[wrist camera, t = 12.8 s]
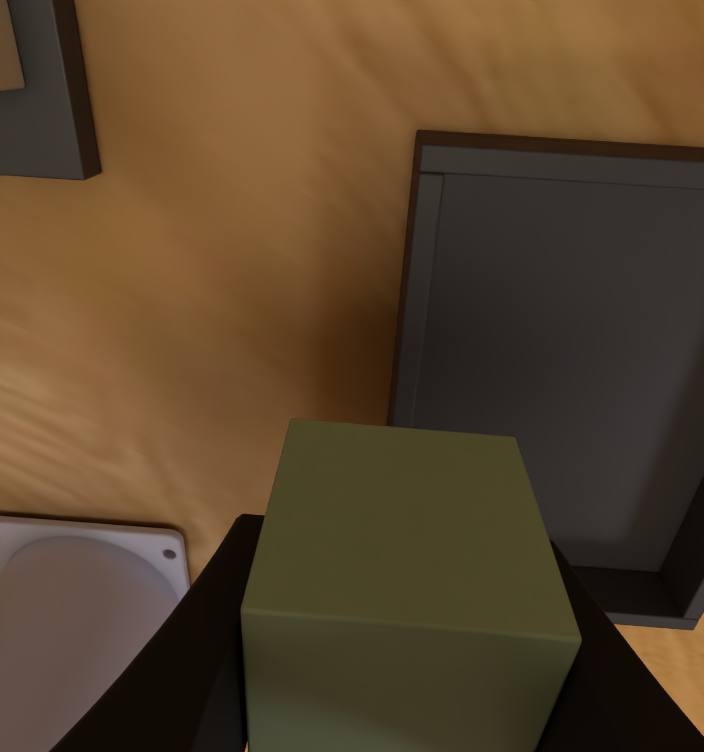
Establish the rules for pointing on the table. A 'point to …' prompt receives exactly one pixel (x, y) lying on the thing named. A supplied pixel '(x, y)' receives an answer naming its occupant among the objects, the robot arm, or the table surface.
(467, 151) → the tray
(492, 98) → the table surface
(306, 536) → the sage block
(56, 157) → the board
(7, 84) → the cream block
